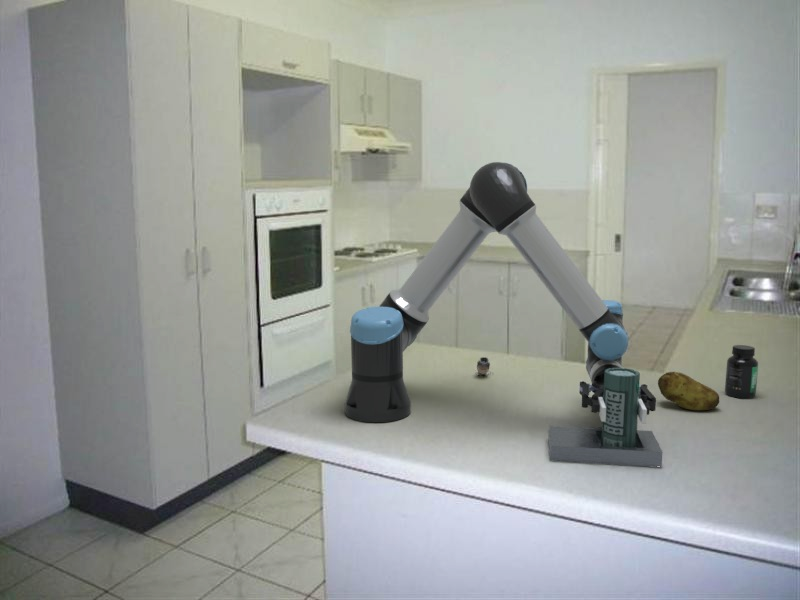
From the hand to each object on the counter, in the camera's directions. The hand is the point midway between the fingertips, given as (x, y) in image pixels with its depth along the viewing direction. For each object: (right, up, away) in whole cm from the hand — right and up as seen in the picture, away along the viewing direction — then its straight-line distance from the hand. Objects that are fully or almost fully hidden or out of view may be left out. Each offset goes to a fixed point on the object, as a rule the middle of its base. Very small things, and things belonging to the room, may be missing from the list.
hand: (623, 415), depth 129 cm
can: (+1, -7, +6) cm, 10 cm away
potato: (+25, -4, +33) cm, 42 cm away
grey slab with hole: (-2, -8, +7) cm, 11 cm away
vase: (-19, 0, +59) cm, 62 cm away
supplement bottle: (+42, -2, +42) cm, 60 cm away
